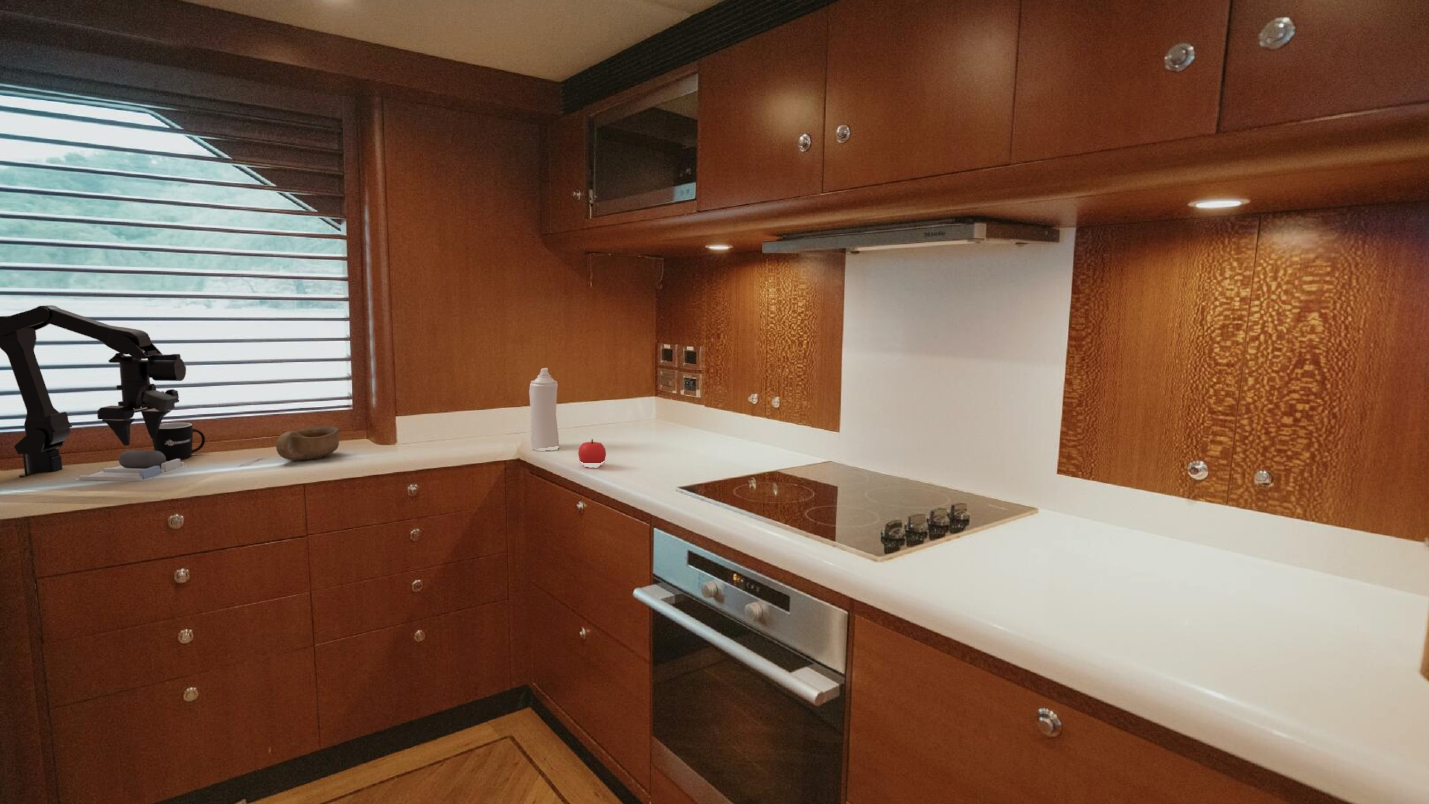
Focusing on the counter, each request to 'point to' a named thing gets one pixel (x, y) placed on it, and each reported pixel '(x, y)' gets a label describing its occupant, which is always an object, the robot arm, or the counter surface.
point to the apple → (592, 452)
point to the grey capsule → (141, 459)
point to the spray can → (543, 411)
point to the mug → (176, 440)
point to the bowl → (308, 443)
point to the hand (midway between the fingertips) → (140, 441)
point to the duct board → (134, 472)
